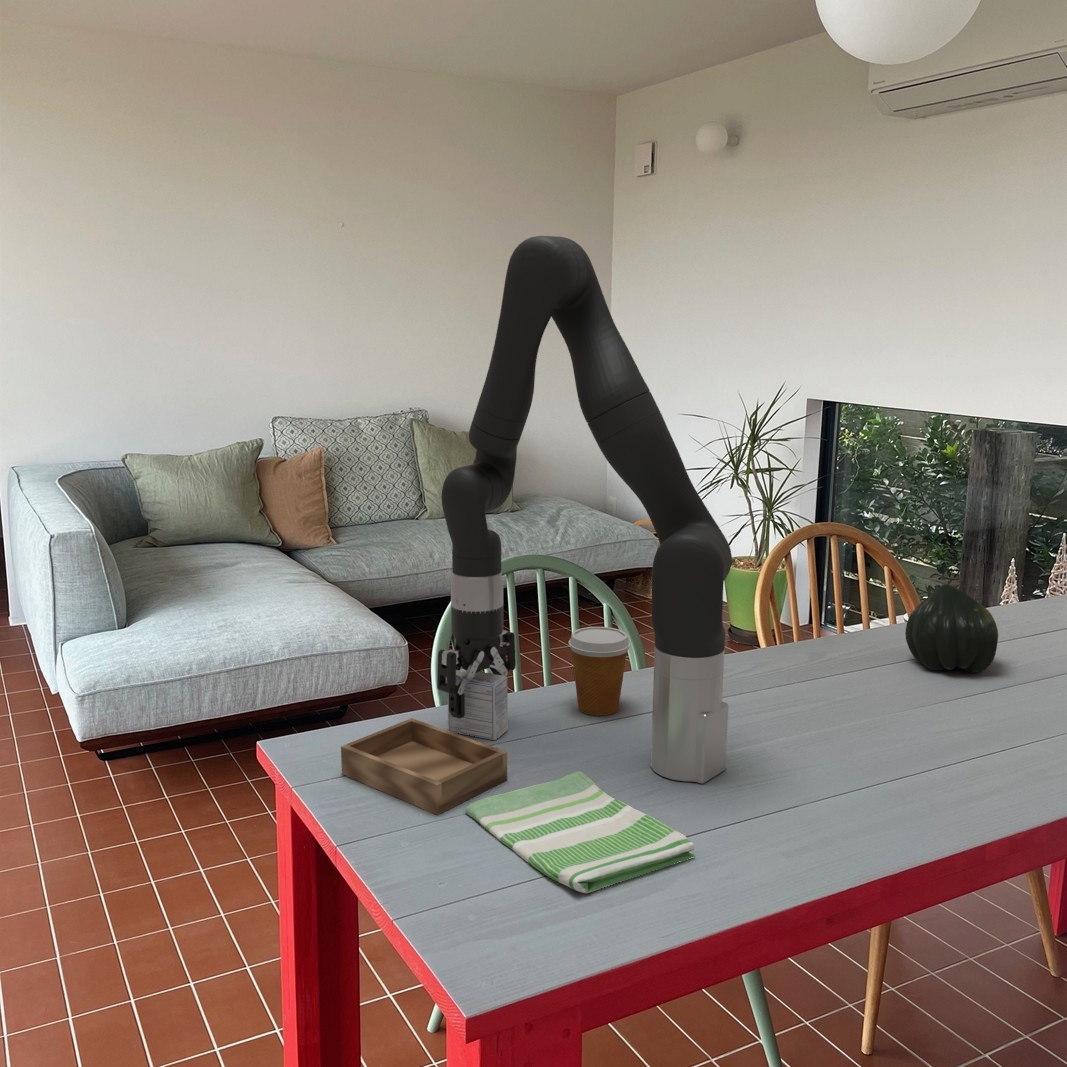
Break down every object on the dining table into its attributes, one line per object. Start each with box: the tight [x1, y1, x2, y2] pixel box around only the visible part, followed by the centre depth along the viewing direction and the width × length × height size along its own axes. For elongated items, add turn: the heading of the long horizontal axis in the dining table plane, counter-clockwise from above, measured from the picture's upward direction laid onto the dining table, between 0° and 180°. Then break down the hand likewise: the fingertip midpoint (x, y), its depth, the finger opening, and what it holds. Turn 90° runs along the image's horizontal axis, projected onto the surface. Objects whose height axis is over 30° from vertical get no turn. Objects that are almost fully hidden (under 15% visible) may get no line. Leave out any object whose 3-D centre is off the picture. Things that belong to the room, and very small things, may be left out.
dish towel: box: [464, 770, 696, 894], centre depth 125 cm, size 18×23×3 cm
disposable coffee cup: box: [568, 626, 631, 716], centre depth 163 cm, size 10×10×12 cm
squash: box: [905, 583, 999, 674], centre depth 184 cm, size 14×15×15 cm
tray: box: [340, 717, 508, 816], centre depth 140 cm, size 18×13×4 cm
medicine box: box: [447, 668, 509, 741], centre depth 155 cm, size 8×4×9 cm, turn 65°
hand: (477, 708), depth 155 cm, fingers open, 8 cm apart
